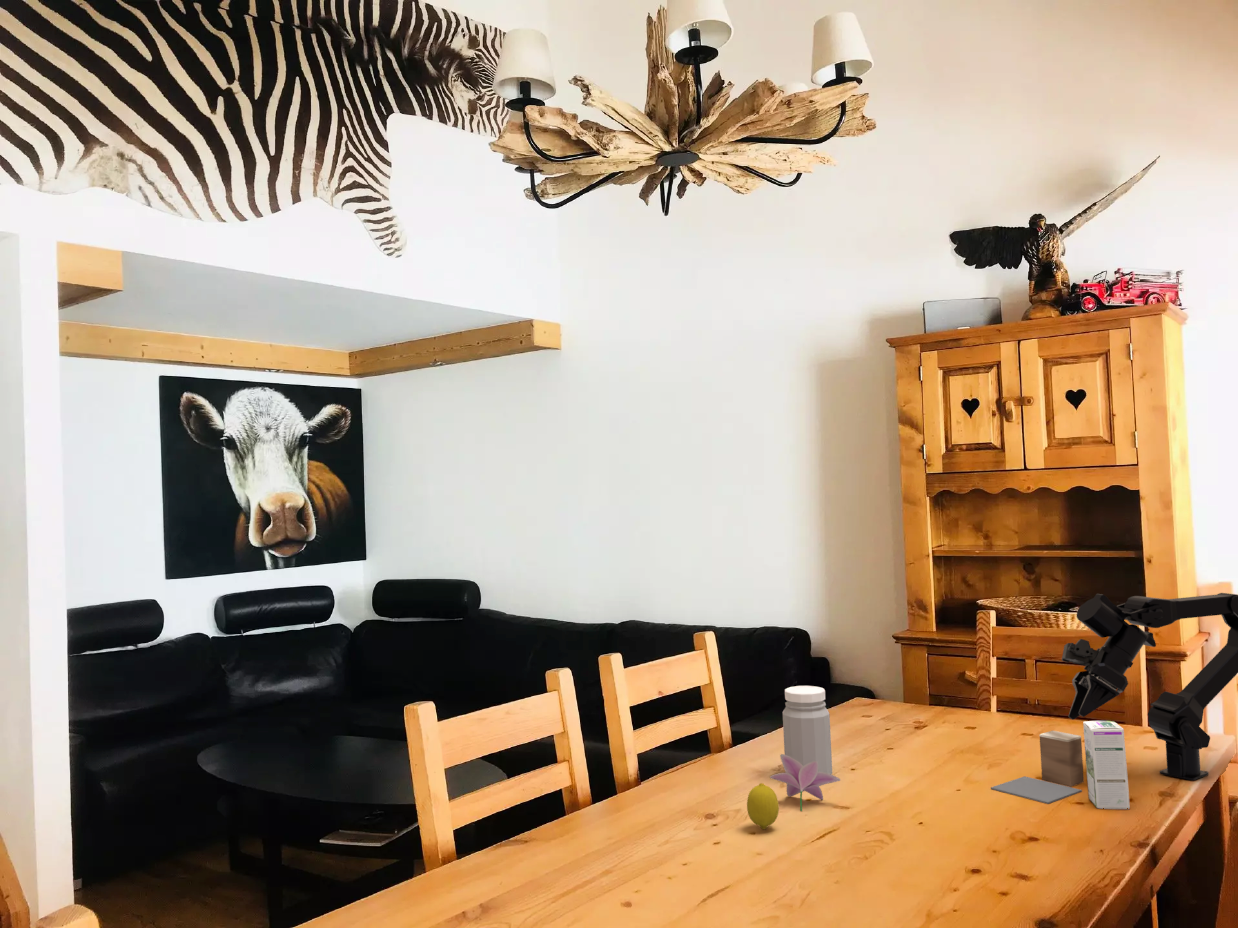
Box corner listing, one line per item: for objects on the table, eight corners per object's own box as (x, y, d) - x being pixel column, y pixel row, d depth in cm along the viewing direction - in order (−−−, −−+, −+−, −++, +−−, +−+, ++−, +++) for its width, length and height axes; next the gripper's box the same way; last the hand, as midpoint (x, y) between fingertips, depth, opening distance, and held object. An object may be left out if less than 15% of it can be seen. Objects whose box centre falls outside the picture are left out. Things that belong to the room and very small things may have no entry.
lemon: (782, 824, 171) (779, 779, 172) (776, 835, 166) (774, 788, 167) (751, 822, 173) (749, 777, 174) (745, 833, 168) (743, 786, 168)
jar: (780, 781, 197) (776, 693, 197) (790, 768, 206) (786, 683, 206) (828, 785, 193) (824, 695, 194) (836, 771, 202) (832, 685, 203)
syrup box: (1131, 809, 172) (1126, 727, 172) (1095, 808, 173) (1090, 727, 173) (1121, 799, 177) (1116, 720, 178) (1086, 798, 178) (1082, 719, 179)
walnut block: (1055, 775, 193) (1052, 730, 194) (1083, 782, 188) (1081, 735, 189) (1042, 779, 191) (1039, 734, 191) (1070, 786, 186) (1068, 739, 186)
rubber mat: (1024, 777, 193) (1024, 776, 193) (1081, 791, 183) (1081, 789, 183) (990, 788, 187) (990, 787, 187) (1048, 803, 177) (1048, 802, 177)
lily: (849, 813, 179) (845, 761, 184) (810, 802, 172) (807, 748, 177) (798, 821, 187) (795, 771, 192) (758, 811, 180) (756, 759, 185)
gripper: (1070, 633, 201) (1029, 695, 199) (1091, 620, 184) (1046, 687, 182) (1121, 666, 197) (1079, 729, 195) (1147, 655, 180) (1102, 724, 178)
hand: (1075, 716), depth 188 cm, fingers open, 9 cm apart
